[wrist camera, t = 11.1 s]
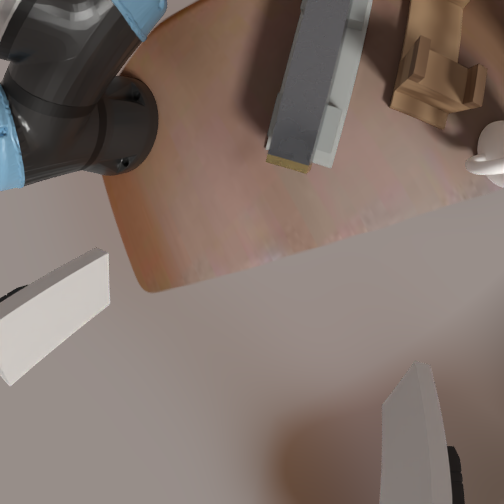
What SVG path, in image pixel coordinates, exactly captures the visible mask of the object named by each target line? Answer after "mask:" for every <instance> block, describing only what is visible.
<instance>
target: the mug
mask: <svg viewBox="0 0 504 504" xmlns="http://www.w3.org/2000/svg"><path fill="white" fill-rule="evenodd" d="M477 152H478V155H475V156H472V157H470V158H468V159H467V160H466V163H465V166H466V169H467V170H468V171H469V172H471V173H474V174H479V175H486V176H487V178H488V179H489V180H491V181H492V182H493V183H494V184H496V185H498V186H500V187H503V188H504V121H495V122H492V123H490V124H488V125H487V126H486V127H485V128H484V129H483V130H482V132H481V134H480V137H479V140H478V147H477Z"/></svg>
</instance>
